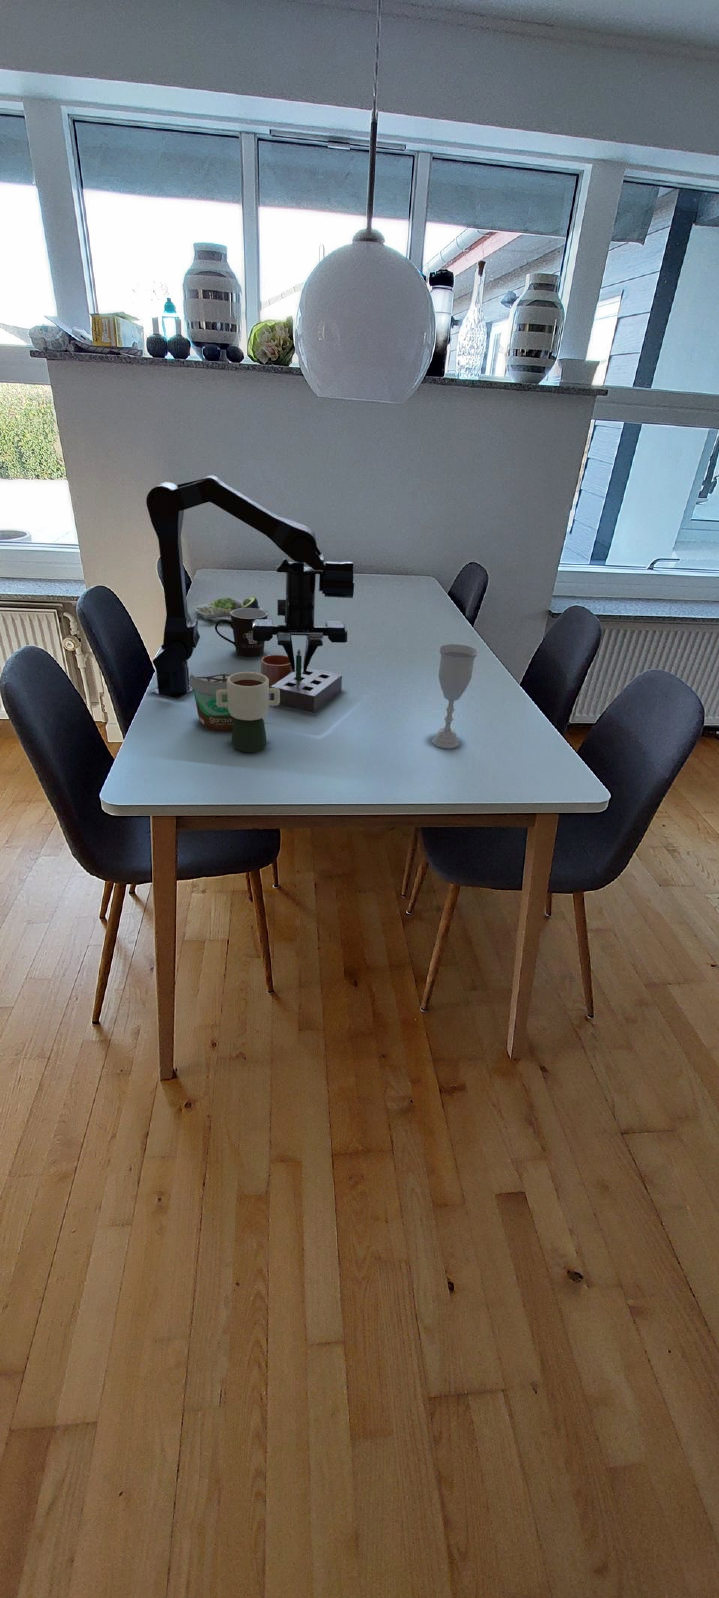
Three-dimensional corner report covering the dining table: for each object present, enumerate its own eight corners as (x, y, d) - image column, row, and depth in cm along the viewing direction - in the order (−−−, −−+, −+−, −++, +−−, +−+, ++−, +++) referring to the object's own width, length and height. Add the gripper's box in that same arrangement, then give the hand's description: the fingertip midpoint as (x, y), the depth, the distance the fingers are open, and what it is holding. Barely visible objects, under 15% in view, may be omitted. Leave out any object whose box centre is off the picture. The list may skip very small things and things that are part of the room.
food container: (193, 736, 126) (190, 685, 121) (191, 722, 131) (187, 672, 126) (260, 732, 129) (260, 682, 124) (256, 718, 134) (255, 669, 129)
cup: (283, 690, 147) (283, 667, 144) (255, 684, 149) (255, 661, 146) (298, 680, 152) (298, 658, 150) (270, 674, 155) (270, 652, 152)
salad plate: (226, 630, 179) (226, 613, 177) (178, 615, 187) (177, 598, 185) (275, 615, 193) (275, 599, 191) (228, 602, 201) (228, 586, 199)
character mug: (276, 737, 128) (277, 670, 121) (282, 754, 122) (282, 685, 115) (217, 739, 125) (214, 672, 118) (219, 757, 119) (216, 687, 113)
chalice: (441, 730, 135) (453, 641, 125) (470, 742, 131) (485, 651, 122) (419, 742, 130) (431, 650, 120) (450, 754, 126) (463, 660, 117)
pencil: (299, 697, 144) (300, 650, 139) (294, 696, 145) (295, 649, 139) (301, 696, 145) (302, 648, 140) (297, 694, 146) (297, 647, 140)
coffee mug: (271, 650, 168) (271, 609, 163) (263, 662, 161) (263, 620, 156) (224, 646, 169) (223, 605, 164) (214, 657, 162) (212, 615, 156)
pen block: (341, 692, 148) (342, 674, 146) (313, 714, 137) (314, 696, 135) (300, 683, 151) (300, 665, 149) (270, 704, 140) (270, 686, 138)
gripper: (343, 586, 142) (339, 658, 150) (252, 583, 139) (253, 657, 148) (349, 601, 133) (345, 677, 141) (252, 598, 130) (253, 676, 138)
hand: (298, 671), depth 142 cm, fingers closed
